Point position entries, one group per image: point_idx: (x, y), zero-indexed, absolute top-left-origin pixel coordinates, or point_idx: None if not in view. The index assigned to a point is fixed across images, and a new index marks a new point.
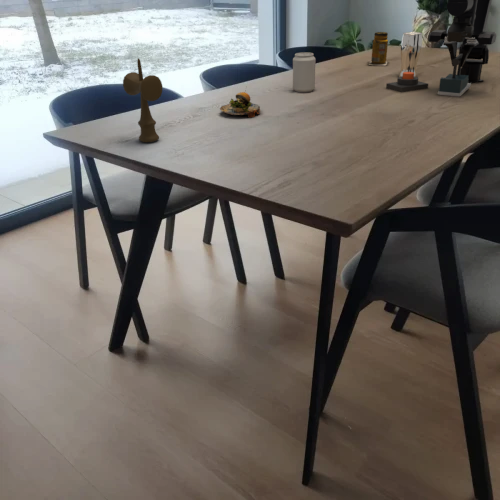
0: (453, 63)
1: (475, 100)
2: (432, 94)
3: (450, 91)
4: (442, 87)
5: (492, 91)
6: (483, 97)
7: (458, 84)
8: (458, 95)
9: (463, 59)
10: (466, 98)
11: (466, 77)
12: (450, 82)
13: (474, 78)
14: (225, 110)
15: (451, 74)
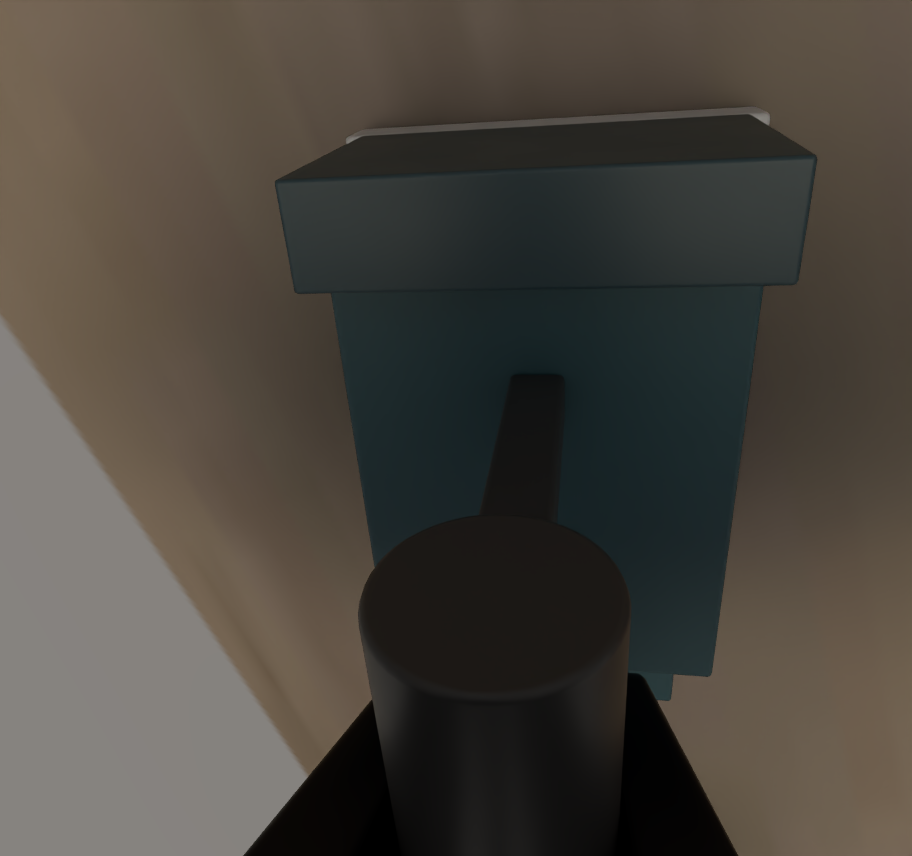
0: (550, 566)
1: (85, 40)
2: (856, 120)
3: (519, 129)
4: (694, 129)
5: (209, 589)
6: (118, 288)
7: (351, 156)
8: (381, 129)
9: (319, 806)
10: (253, 110)
11: (374, 561)
12: (528, 155)
13: None
14: None
15: (667, 656)
